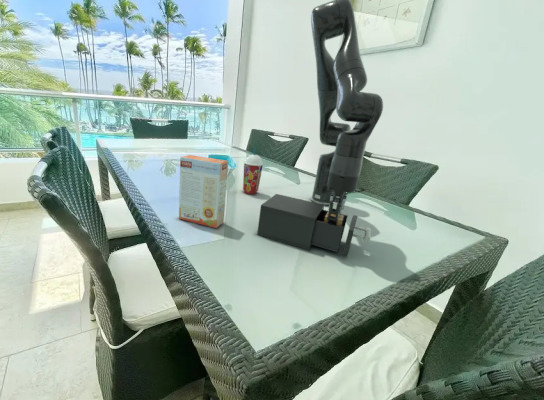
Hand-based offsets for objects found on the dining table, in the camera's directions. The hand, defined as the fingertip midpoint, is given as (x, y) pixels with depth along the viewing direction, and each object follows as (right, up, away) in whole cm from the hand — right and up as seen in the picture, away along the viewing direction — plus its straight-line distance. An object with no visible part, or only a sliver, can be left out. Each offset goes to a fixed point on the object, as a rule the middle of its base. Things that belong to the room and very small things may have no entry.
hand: (331, 229), depth 79 cm
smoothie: (-19, +12, +45) cm, 50 cm away
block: (0, 0, 0) cm, 0 cm away
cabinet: (-11, -2, +7) cm, 13 cm away
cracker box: (-39, +1, +11) cm, 40 cm away
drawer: (0, -4, +1) cm, 4 cm away
